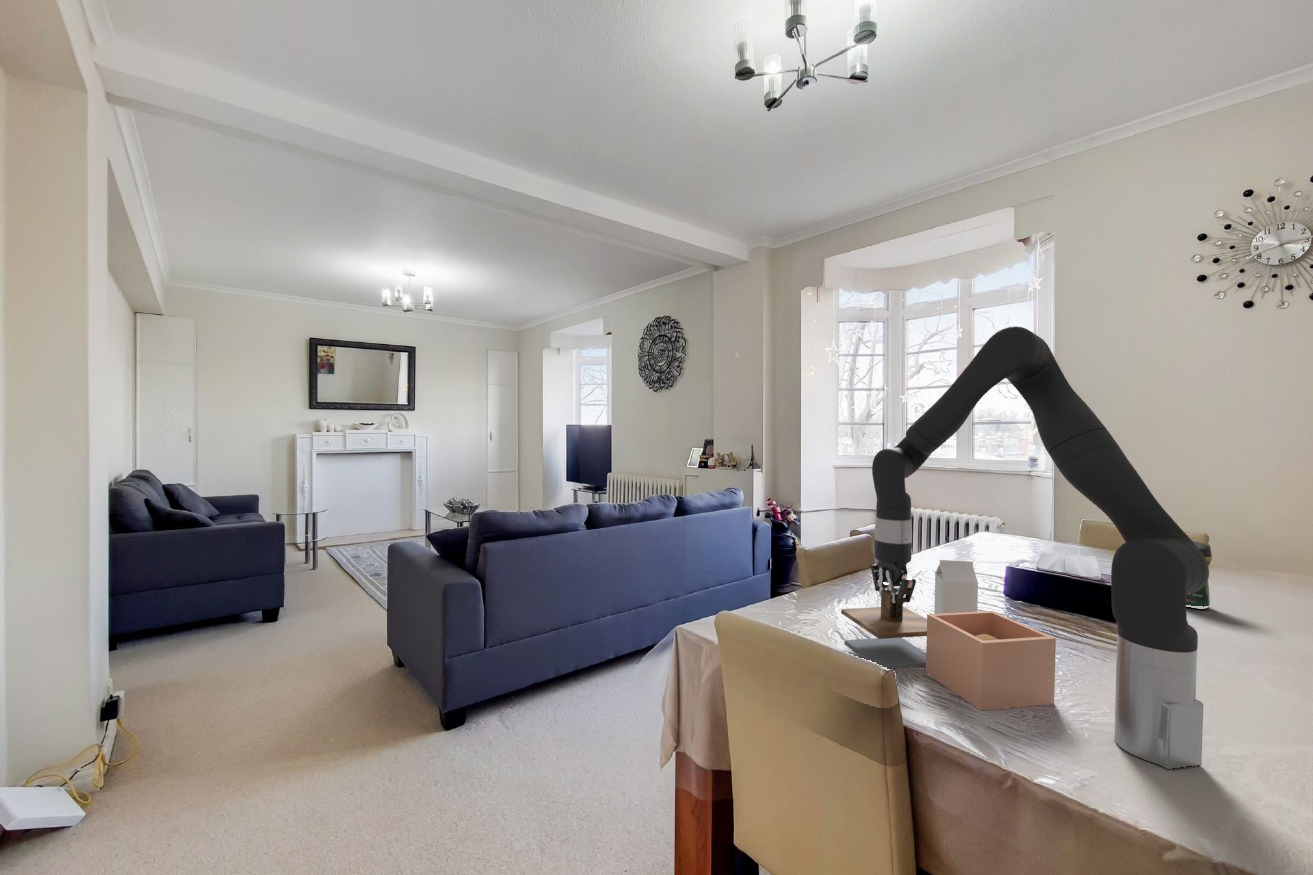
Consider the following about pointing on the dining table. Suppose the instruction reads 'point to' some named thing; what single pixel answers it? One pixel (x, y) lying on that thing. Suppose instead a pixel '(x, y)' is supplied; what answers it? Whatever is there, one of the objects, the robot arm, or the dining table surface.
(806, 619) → the dining table surface
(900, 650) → the mat
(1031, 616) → the dining table surface
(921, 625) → the lid
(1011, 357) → the robot arm
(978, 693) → the tan open box
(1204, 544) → the coffee jar
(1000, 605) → the dining table surface
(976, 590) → the milk carton
